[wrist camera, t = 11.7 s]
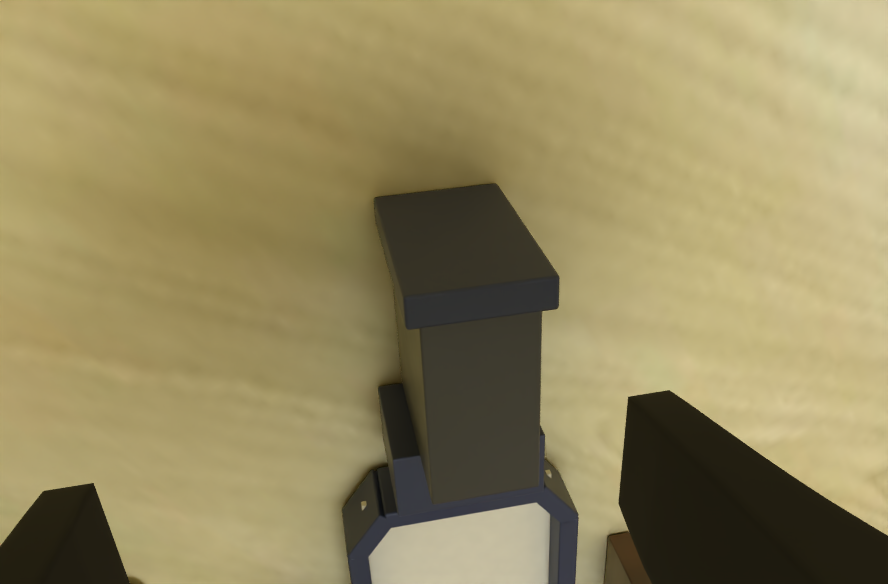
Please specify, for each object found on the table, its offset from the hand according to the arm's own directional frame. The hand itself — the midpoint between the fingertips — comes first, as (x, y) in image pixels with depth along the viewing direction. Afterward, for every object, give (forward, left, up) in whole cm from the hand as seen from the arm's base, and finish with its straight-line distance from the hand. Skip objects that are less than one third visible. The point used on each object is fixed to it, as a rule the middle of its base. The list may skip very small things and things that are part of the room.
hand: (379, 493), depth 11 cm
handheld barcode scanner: (+7, -6, -10) cm, 14 cm away
